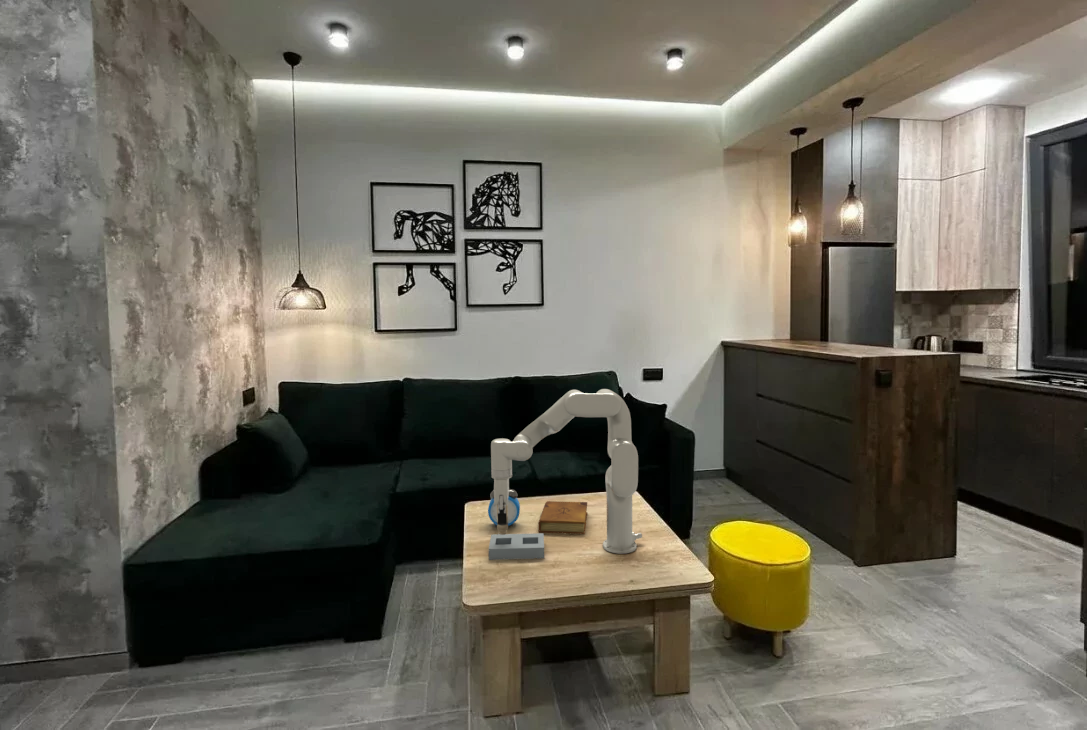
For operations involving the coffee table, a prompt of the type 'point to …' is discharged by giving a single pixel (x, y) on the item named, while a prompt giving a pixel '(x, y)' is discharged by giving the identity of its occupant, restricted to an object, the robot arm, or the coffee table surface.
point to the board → (516, 546)
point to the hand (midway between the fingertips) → (502, 520)
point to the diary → (563, 517)
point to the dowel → (502, 527)
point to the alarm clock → (512, 508)
